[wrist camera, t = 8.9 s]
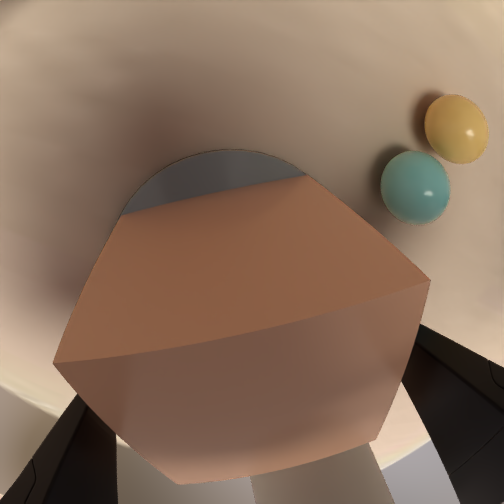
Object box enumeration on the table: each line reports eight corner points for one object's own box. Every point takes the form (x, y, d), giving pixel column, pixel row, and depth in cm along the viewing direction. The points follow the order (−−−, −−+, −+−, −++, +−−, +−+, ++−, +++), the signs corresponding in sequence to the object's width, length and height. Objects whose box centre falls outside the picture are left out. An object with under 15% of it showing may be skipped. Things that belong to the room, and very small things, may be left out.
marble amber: (454, 94, 10) (501, 102, 8) (454, 153, 12) (498, 171, 9) (409, 89, 10) (458, 95, 7) (411, 156, 11) (457, 175, 9)
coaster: (336, 132, 11) (341, 133, 10) (338, 326, 16) (341, 331, 15) (77, 186, 10) (74, 189, 9) (156, 366, 15) (156, 371, 14)
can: (215, 408, 18) (244, 581, 7) (318, 355, 16) (397, 544, 6) (272, 438, 21) (307, 565, 11) (355, 397, 20) (414, 528, 10)
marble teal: (421, 142, 11) (468, 159, 9) (418, 203, 13) (459, 230, 10) (366, 146, 11) (411, 164, 8) (367, 213, 13) (405, 245, 10)
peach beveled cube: (307, 174, 11) (430, 280, 5) (315, 316, 14) (375, 439, 8) (121, 215, 10) (52, 363, 4) (174, 348, 14) (177, 484, 8)
